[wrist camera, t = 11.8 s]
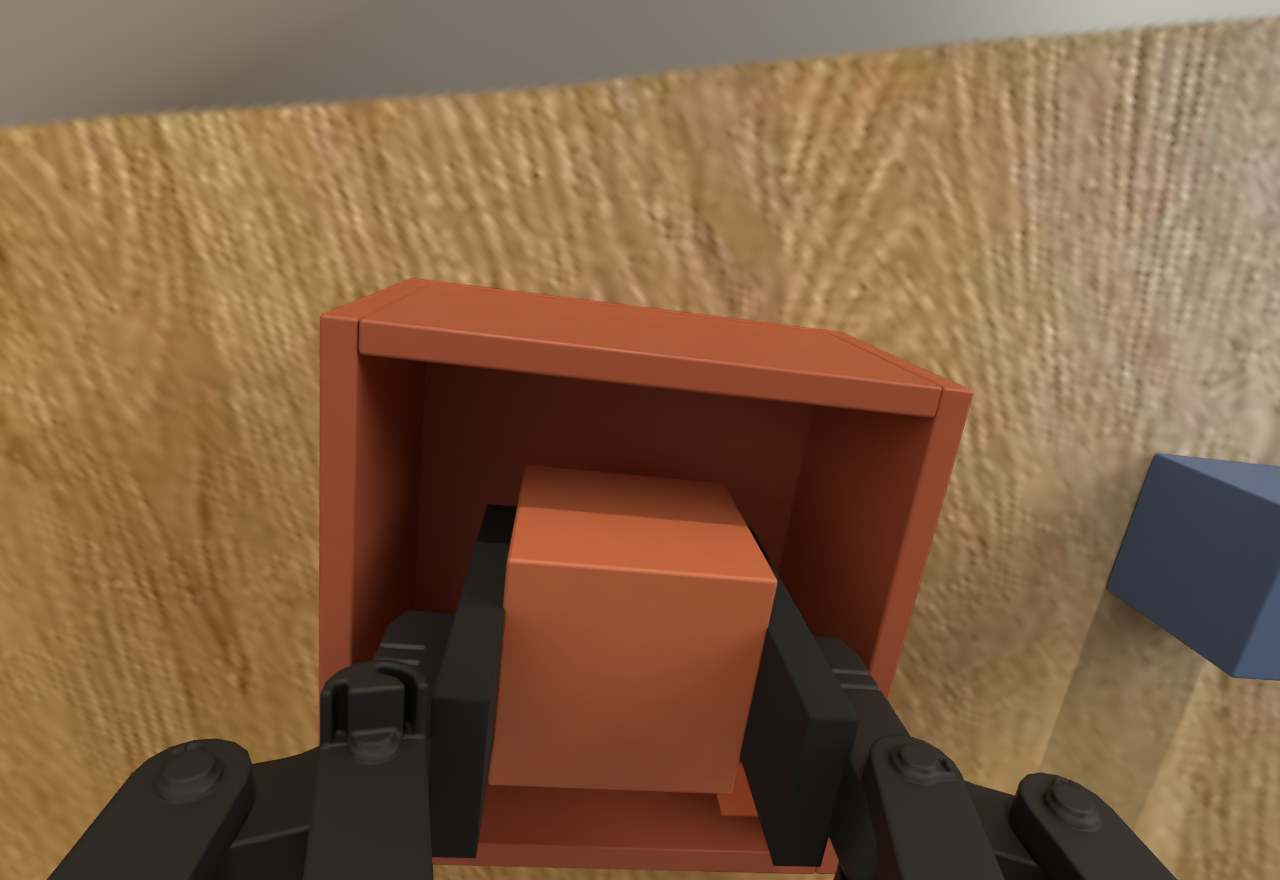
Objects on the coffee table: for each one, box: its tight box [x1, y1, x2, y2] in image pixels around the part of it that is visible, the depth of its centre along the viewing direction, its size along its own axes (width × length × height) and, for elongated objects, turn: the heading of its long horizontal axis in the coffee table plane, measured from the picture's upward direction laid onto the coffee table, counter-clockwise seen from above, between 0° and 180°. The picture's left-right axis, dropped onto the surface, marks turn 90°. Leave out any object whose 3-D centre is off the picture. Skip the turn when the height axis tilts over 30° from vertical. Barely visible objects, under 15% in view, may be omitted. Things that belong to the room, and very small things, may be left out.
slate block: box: [1107, 453, 1280, 681], centre depth 20 cm, size 4×4×4 cm
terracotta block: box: [488, 465, 778, 794], centre depth 14 cm, size 4×4×4 cm
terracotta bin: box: [319, 278, 973, 874], centre depth 17 cm, size 11×11×7 cm
